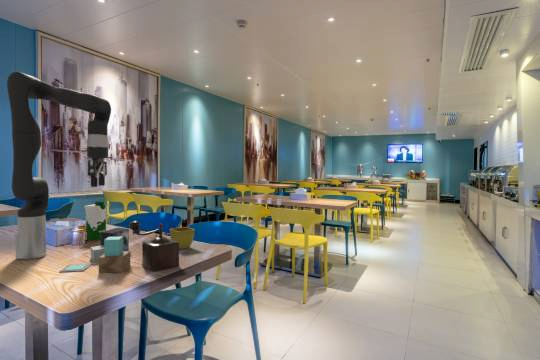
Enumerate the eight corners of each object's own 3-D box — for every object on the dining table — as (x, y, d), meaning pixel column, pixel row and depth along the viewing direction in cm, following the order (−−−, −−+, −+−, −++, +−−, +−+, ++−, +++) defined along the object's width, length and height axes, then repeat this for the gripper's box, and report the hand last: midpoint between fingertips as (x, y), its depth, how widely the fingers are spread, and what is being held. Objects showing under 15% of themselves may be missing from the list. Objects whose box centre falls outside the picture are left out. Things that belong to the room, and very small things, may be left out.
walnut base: (98, 274, 108) (98, 257, 108) (108, 266, 116) (108, 251, 115) (121, 273, 108) (121, 257, 108) (130, 266, 116) (130, 251, 116)
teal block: (104, 256, 109) (104, 239, 109) (108, 252, 114) (108, 236, 114) (119, 255, 110) (119, 239, 110) (123, 252, 115) (123, 236, 115)
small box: (112, 257, 127) (112, 232, 127) (99, 256, 129) (99, 231, 129) (129, 251, 138) (129, 228, 137) (117, 250, 139) (117, 227, 139)
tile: (59, 272, 108) (59, 271, 108) (69, 265, 116) (69, 264, 116) (83, 271, 110) (83, 270, 110) (92, 264, 118) (92, 263, 118)
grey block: (93, 250, 120) (90, 247, 125) (93, 262, 120) (90, 259, 125) (107, 248, 123) (104, 245, 128) (107, 260, 124) (104, 256, 128)
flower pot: (185, 244, 151) (185, 226, 150) (195, 247, 145) (195, 229, 144) (169, 247, 145) (169, 228, 144) (178, 251, 138) (178, 231, 138)
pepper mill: (165, 259, 125) (165, 216, 124) (179, 266, 117) (179, 219, 117) (127, 268, 114) (127, 220, 113) (139, 275, 106) (139, 224, 106)
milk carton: (98, 241, 155) (97, 202, 154) (82, 240, 156) (81, 201, 156) (109, 237, 164) (109, 200, 163) (94, 236, 165) (94, 200, 164)
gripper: (94, 147, 129) (94, 185, 130) (80, 144, 115) (80, 187, 116) (113, 147, 131) (113, 185, 131) (101, 145, 117) (102, 187, 117)
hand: (98, 186), depth 124 cm, fingers open, 8 cm apart
